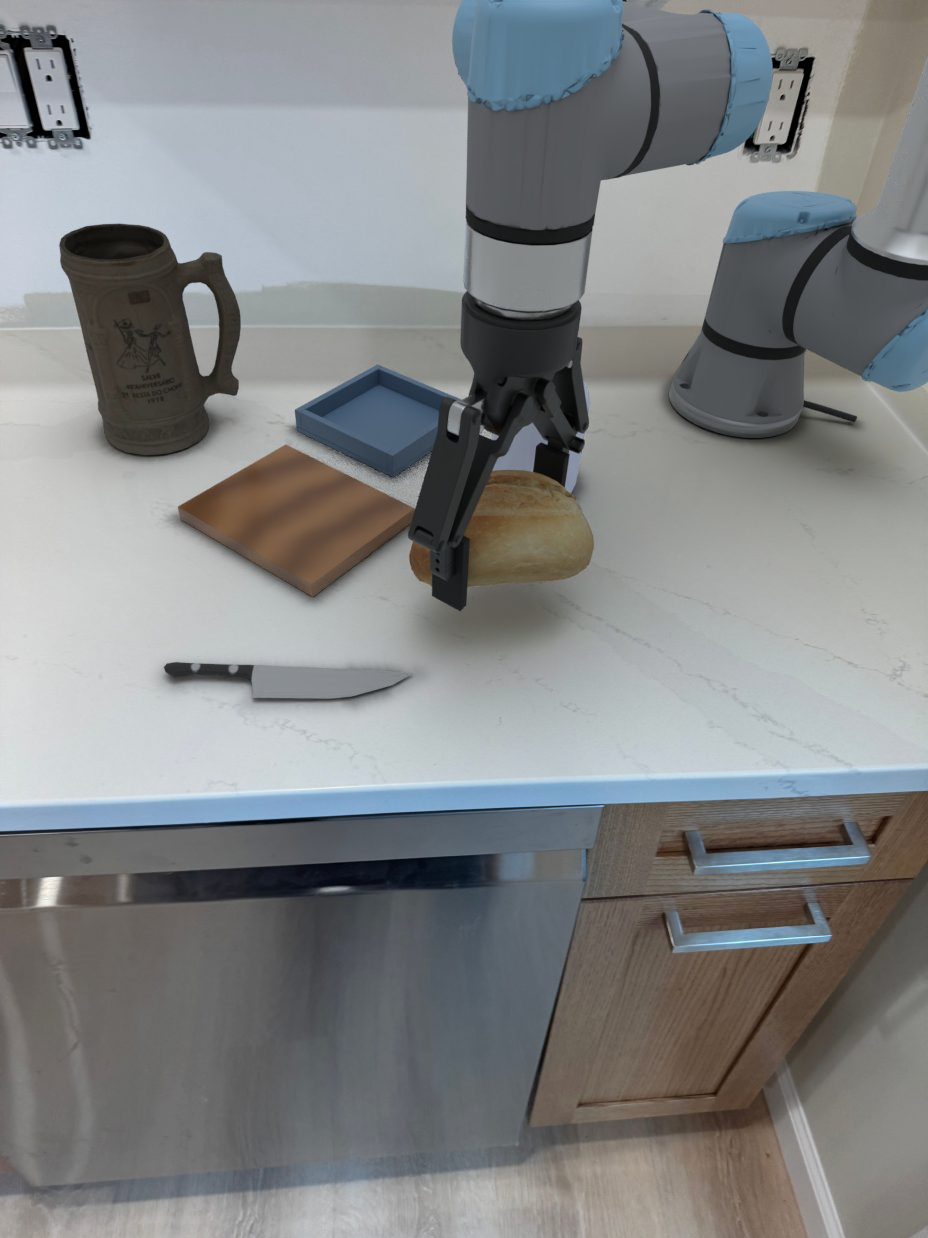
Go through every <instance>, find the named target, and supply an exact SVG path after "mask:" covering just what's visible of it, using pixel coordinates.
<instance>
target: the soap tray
mask: <svg viewBox="0 0 928 1238" xmlns="http://www.w3.org/2000/svg"><path fill="white" fill-rule="evenodd" d="M445 397H450V398H453V399H455V400H457V401H460V400H462V399H463V398H462V399H461V398H459V397H457V396H455V395H452V394H449V393H448V392H445V391H442V390H441V389H438V388H435V387H432V386H430V385H428V384H425V383H424V382H420V381H418V380H416V379H414V378H412V377H409V376H407V375H404V374H402V373H399V372H397V371H394V370H392V369H389V368H387V367H385V366H382V365H380V364H376V365H374V366H372V367H370V368H368V369H367V370H365V371H363V372H361V373H359V374H357V375H356V376H354V377H352V378H350V379H348V380H346V381H344V382H343V383H341V384H338V385H337V386H335V387H333V388H332V389H329V390H328V391H326V392H325V393H322V394H321V395H318V396H317V397H315V398H313V399H312V400H309V401H307V402H306V403H304V404H302V405H300V406H299V407H297V408H295V409H294V416H295V417H294V418H295V428H296V429H295V430H296V432H298V433H300V434H302V435H305V436H307V437H309V438H311V439H313V440H315V441H317V442H318V443H321V444H323V445H325V446H327V447H329V448H331V449H334V450H335V451H338V452H340V453H342V454H344V455H346V456H348V457H349V458H352V459H354V460H357V461H358V462H360V463H362V464H364V465H366V466H369V467H371V468H373V469H375V470H377V471H379V472H381V473H383V474H384V475H388V476H389V477H391V478H394V477H396V476H397V475H399V474H400V473H401V472H404V471H405V470H406V469H407V468H410V467H411V466H412V465H413V464H415V463H417V462H418V461H420V460H421V459H422V458H424V457H425V456H426V455H428V454H430V453H432V449H433V446H434V442H435V439H436V435H437V429H438V418H439V408H440V404H441V402H442V400H443V399H444V398H445Z"/></svg>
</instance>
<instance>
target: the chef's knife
mask: <svg viewBox="0 0 928 1238" xmlns="http://www.w3.org/2000/svg"><path fill="white" fill-rule="evenodd" d="M163 669H164V672H165V674H168V676H171V677H173V678H180V677H186V676H215V677H216V676H219V677H225V678H227V677H228V678H235V679H236V678H237V679H247V680H249V681H250V682H251V691H252V692H251V693H252V699H326V700H327V699H328V700H329V699H341V698H351V697H355V696H358V695H362V694H367V693H369V692H373V691H377V690H381V689H384V688H387V687H391V686H394V685H395V684H397V683H399V682H400V681H403V680H404V679H406V678H408V677H409V676H411V675H412V674H413V672H407V671H395V670H376V669H360V668H359V669H357V668H339V667H338V668H337V667H311V666H310V667H309V666H291V665H290V666H289V665H287V666H286V665H267V664H266V665H262V664H261V665H260V664H226V663H201V662H200V663H199V662H183V661H182V662H180V661H173V662H168V663H165V664H164V666H163Z"/></svg>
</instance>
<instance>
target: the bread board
mask: <svg viewBox="0 0 928 1238" xmlns="http://www.w3.org/2000/svg"><path fill="white" fill-rule="evenodd" d="M415 508H416V507H415ZM415 508H414V506H411V505H409V504H407V503H405V502H403V501H401V500H399V499H397V498H394V497H393V496H390V495H389V494H387V493H385V492H383V491H381V490H379V489H376V488H374V487H373V486H370V485H369V484H366V483H364V482H363V481H361V480H359V479H356V478H354V477H353V476H350V475H349V474H346V473H344V472H342V471H340V470H339V469H337V468H335V467H332V466H331V465H328V464H327V463H324V462H322V461H320V460H318V459H316V458H314V457H312V456H310V455H308V454H306V453H304V452H302V451H300V450H298V449H296V448H294V447H292V446H290V445H288V444H284V445H282V446H281V447H278V448H277V449H275V450H274V451H272V452H270V453H268V454H267V455H265V456H263V457H262V458H260V459H258V460H256V461H254V462H252V463H251V464H249V465H247V466H245V467H243V468H242V469H241V470H239V471H237V472H235V473H234V474H232V475H230V476H228V477H226V478H225V479H223V480H221V481H220V482H218V483H216V484H214V485H213V486H211V487H210V488H208V489H206V490H204V491H202V492H201V493H198V494H197V495H196V496H194V497H192V498H190V499H188V500H187V501H184V502H183V503H181V504H179V505H178V506H177V510H178V515H179V519H180V520H181V521H183V522H184V523H186V524H188V525H189V526H191V527H192V528H194V529H196V530H198V531H199V532H201V533H203V534H204V535H206V536H207V537H210V538H211V539H212V540H214V541H217V542H218V543H220V544H221V545H223V546H225V547H227V548H228V549H230V550H232V551H233V552H235V553H237V554H239V555H240V556H242V557H244V558H245V559H247V560H249V561H250V562H252V563H253V564H256V565H257V566H259V567H261V568H262V569H264V570H266V571H268V572H269V573H271V574H272V575H274V576H276V577H278V578H280V579H281V580H283V581H284V582H286V583H288V584H290V585H292V586H293V587H295V588H296V589H298V590H300V591H301V592H303V593H305V594H307V595H308V596H310V597H311V598H314V597H315V596H316V595H318V594H319V593H321V592H322V591H323V590H324V589H326V588H327V587H329V586H330V585H331V584H333V583H334V582H335V581H337V580H338V579H340V577H342V576H343V575H345V574H346V573H348V572H349V571H350V570H351V569H353V568H355V566H357V565H358V564H359V563H360V562H362V561H363V560H364V559H365V558H367V557H368V556H370V555H371V554H372V553H374V552H375V551H376V550H377V549H379V548H380V547H382V546H383V545H385V543H387V542H389V541H390V540H391V539H392V538H394V537H395V536H397V535H398V534H399V533H401V531H403V530H404V529H406V528H407V527H408V526H410V525H411V521H412V518H413V515H414V511H415Z"/></svg>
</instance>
